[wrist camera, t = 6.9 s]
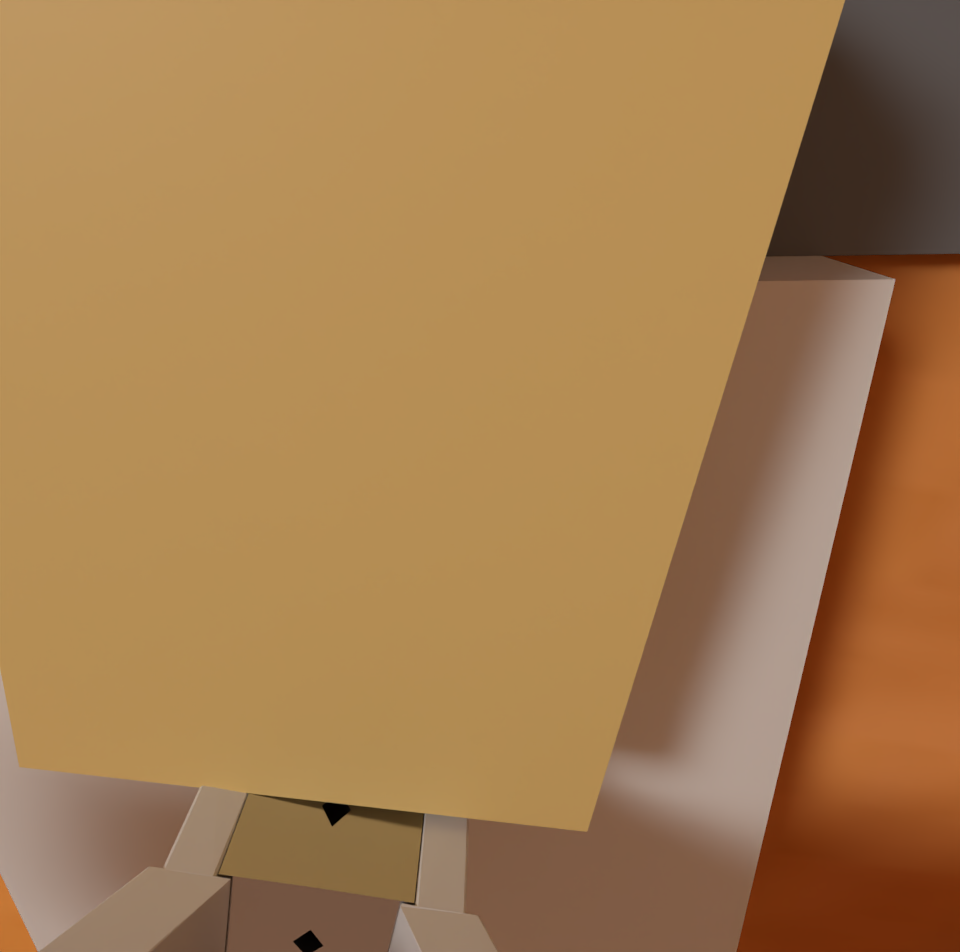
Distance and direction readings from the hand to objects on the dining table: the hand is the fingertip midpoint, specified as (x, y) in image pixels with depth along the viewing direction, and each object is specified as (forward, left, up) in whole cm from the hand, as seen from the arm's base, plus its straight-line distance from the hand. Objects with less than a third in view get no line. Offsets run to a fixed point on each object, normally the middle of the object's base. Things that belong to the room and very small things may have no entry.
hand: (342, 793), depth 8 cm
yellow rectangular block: (+1, +5, -1) cm, 6 cm away
